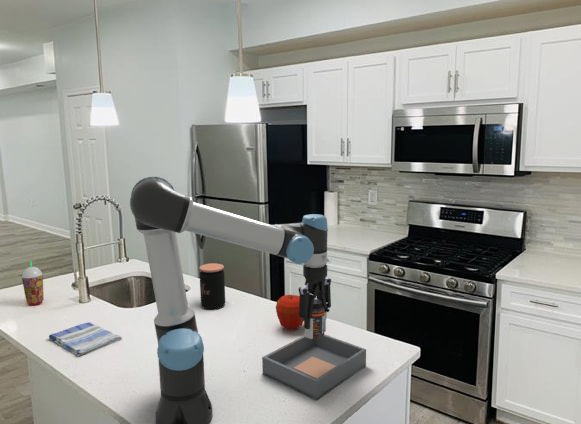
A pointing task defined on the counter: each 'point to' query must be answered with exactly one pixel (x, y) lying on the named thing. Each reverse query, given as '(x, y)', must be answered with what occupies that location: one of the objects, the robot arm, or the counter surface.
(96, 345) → the dish towel
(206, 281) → the coffee jar
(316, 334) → the supplement bottle
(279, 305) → the apple
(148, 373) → the counter surface
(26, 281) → the smoothie
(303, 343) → the bin
